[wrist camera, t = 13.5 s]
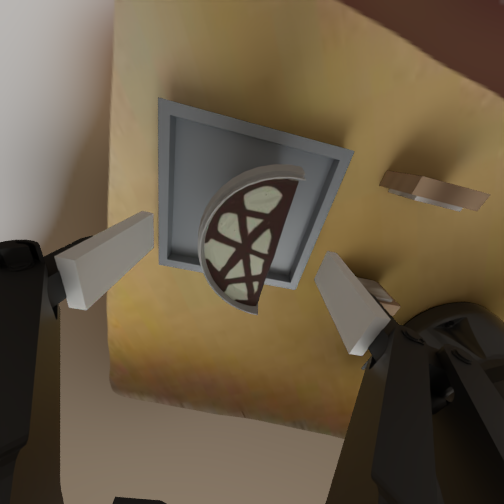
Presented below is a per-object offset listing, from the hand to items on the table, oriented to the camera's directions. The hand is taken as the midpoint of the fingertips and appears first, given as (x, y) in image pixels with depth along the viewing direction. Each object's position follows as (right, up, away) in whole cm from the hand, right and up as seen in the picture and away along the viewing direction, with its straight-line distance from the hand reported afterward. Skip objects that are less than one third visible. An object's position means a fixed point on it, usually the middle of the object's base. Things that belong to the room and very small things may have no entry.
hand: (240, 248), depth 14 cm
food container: (0, +5, +8) cm, 9 cm away
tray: (0, +5, +9) cm, 10 cm away
